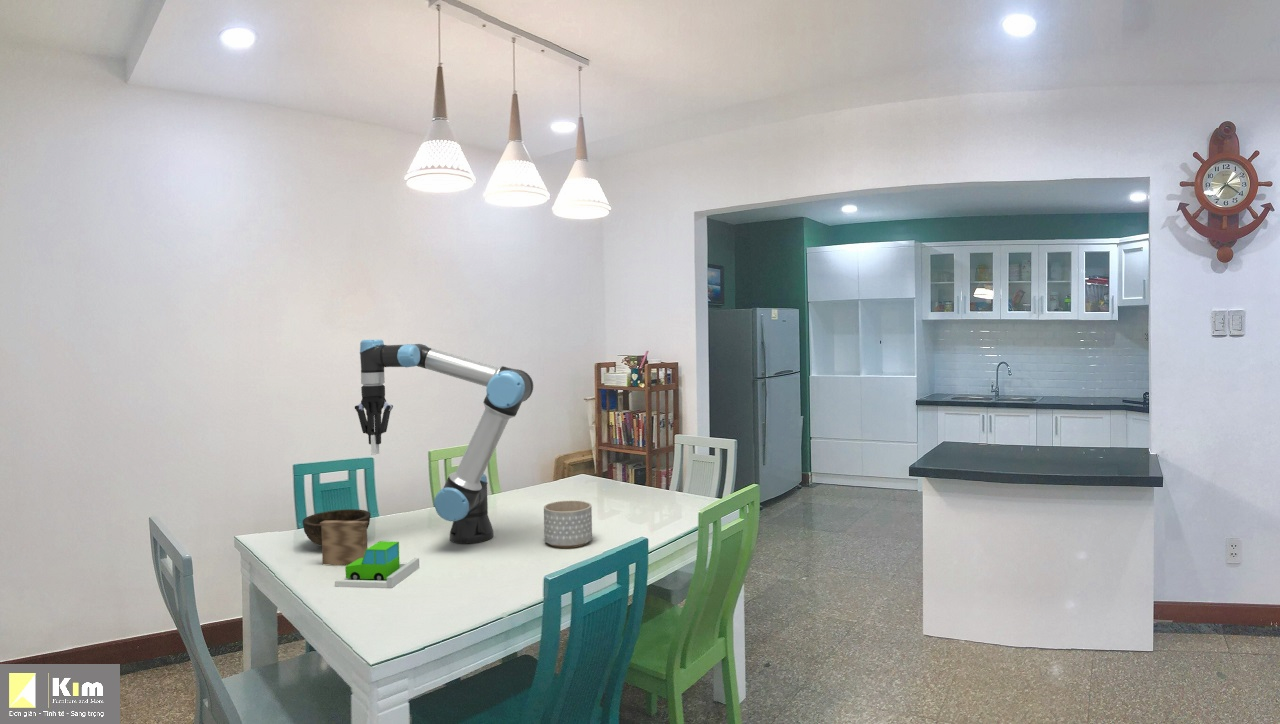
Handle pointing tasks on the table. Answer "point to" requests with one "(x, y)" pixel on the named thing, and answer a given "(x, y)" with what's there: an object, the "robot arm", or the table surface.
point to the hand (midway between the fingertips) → (375, 453)
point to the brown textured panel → (343, 541)
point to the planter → (567, 523)
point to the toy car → (375, 562)
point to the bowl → (313, 521)
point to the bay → (391, 580)
